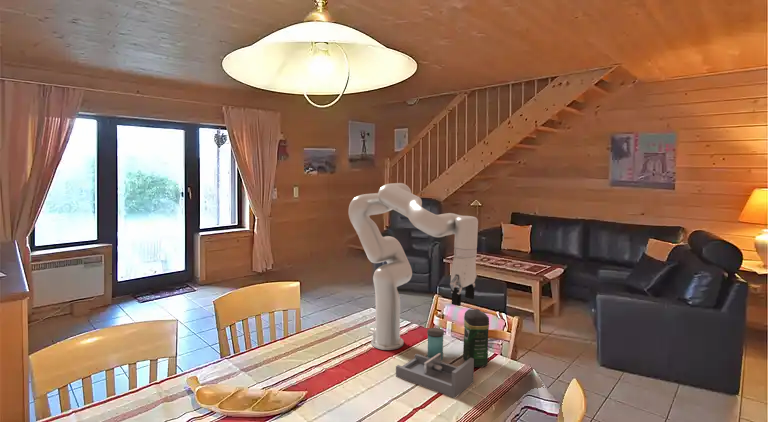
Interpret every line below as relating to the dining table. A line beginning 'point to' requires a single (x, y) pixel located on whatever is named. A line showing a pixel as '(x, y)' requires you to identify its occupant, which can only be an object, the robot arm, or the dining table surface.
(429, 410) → the dining table surface
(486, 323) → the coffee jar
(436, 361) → the pusher plate
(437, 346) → the spice jar
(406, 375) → the grey divided tray
